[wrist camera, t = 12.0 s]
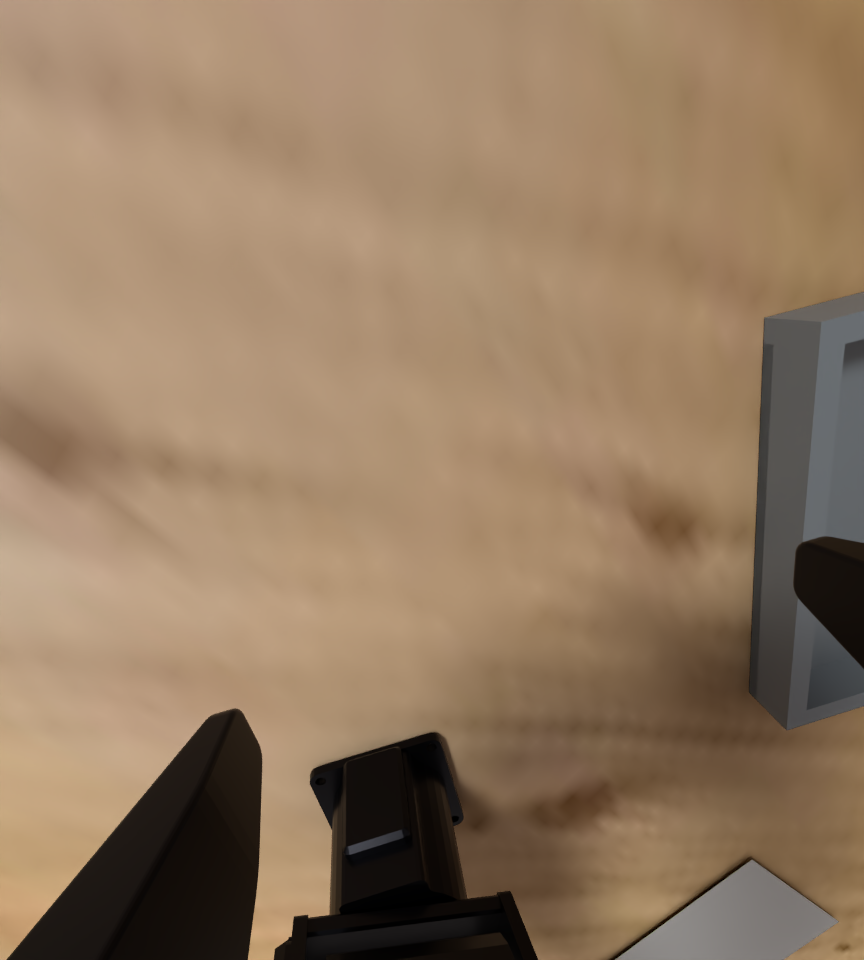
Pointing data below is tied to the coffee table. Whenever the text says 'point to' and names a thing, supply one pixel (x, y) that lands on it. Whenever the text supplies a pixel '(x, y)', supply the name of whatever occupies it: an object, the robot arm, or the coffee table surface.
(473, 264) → the coffee table surface
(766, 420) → the tray
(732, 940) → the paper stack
